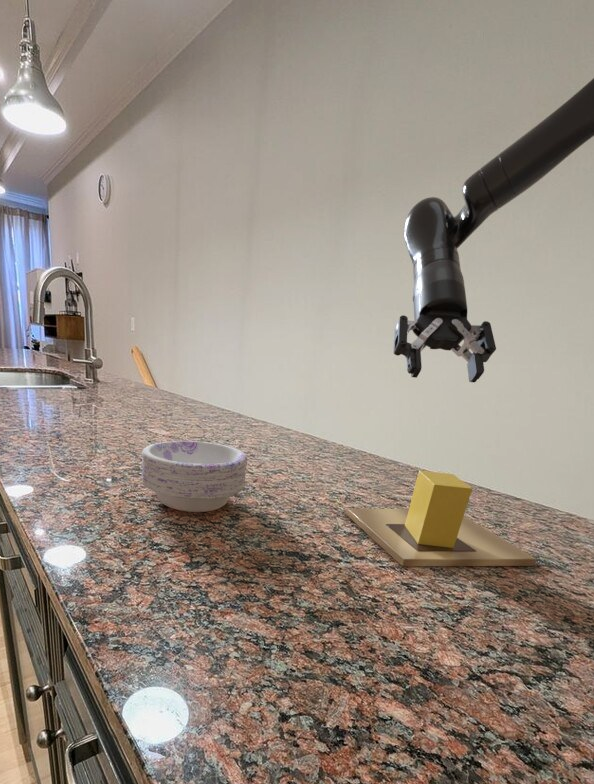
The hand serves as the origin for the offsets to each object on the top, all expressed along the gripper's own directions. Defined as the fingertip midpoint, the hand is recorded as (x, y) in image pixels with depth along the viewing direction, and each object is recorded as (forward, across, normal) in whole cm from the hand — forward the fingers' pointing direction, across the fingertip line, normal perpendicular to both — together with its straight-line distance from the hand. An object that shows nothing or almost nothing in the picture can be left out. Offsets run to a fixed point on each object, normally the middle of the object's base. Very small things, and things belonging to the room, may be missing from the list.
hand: (445, 376), depth 67 cm
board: (+24, -2, +4) cm, 25 cm away
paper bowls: (+22, -36, +7) cm, 42 cm away
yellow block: (+25, -3, +2) cm, 26 cm away
